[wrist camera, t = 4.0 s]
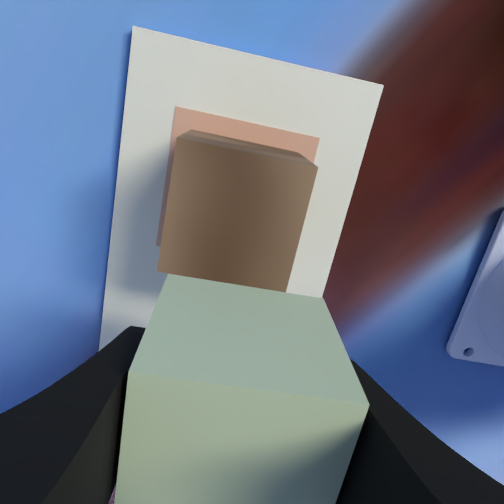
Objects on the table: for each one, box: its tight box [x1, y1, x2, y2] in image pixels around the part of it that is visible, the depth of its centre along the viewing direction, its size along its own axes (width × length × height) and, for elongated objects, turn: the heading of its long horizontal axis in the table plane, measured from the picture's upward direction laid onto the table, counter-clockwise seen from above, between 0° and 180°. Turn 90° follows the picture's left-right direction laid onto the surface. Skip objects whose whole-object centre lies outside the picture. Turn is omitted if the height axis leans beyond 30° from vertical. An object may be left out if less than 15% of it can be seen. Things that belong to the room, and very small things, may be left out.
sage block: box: [114, 274, 370, 504], centre depth 10 cm, size 4×4×4 cm
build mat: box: [99, 26, 384, 351], centre depth 19 cm, size 10×17×1 cm, turn 168°
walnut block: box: [157, 129, 318, 292], centre depth 16 cm, size 4×4×4 cm
